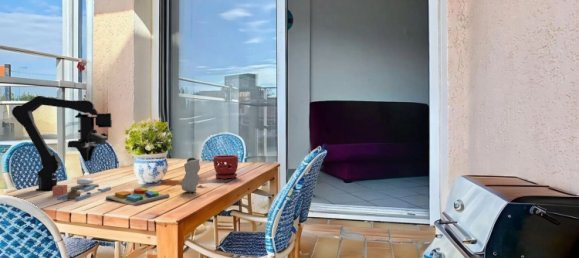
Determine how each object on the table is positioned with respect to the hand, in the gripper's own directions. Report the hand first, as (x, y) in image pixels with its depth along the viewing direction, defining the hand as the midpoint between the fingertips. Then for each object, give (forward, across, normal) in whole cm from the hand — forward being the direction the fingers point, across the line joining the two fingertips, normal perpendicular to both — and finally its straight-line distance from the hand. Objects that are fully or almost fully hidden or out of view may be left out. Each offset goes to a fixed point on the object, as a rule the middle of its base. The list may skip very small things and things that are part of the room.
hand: (87, 161), depth 174 cm
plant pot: (+12, +36, -55) cm, 67 cm away
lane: (+12, -14, -9) cm, 21 cm away
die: (+12, -17, 0) cm, 21 cm away
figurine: (+12, -1, -50) cm, 51 cm away
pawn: (+12, -21, -9) cm, 26 cm away
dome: (+10, -2, 0) cm, 11 cm away
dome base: (+12, -2, 0) cm, 12 cm away
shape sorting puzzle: (+13, -16, -34) cm, 40 cm away
